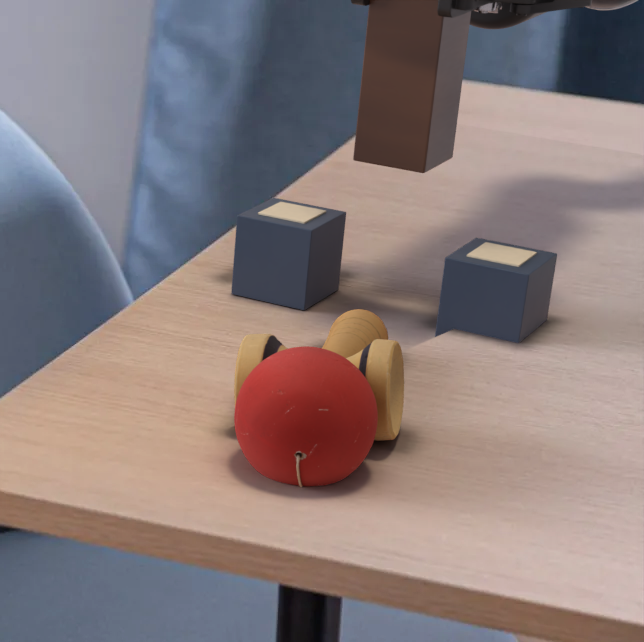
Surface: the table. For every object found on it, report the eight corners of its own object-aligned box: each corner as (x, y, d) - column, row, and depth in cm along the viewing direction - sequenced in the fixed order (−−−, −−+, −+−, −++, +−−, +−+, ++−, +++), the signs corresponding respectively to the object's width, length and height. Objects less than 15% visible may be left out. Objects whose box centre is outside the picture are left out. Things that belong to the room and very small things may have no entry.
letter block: (383, 145, 95) (406, -71, 90) (453, 158, 93) (481, -62, 88) (352, 160, 92) (375, -63, 87) (424, 174, 90) (451, -53, 85)
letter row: (230, 294, 98) (236, 213, 96) (267, 274, 101) (273, 195, 99) (516, 358, 90) (529, 272, 88) (544, 334, 94) (558, 251, 92)
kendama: (261, 379, 90) (180, 470, 73) (297, 260, 87) (222, 326, 71) (407, 427, 88) (359, 531, 72) (447, 307, 86) (407, 386, 69)
